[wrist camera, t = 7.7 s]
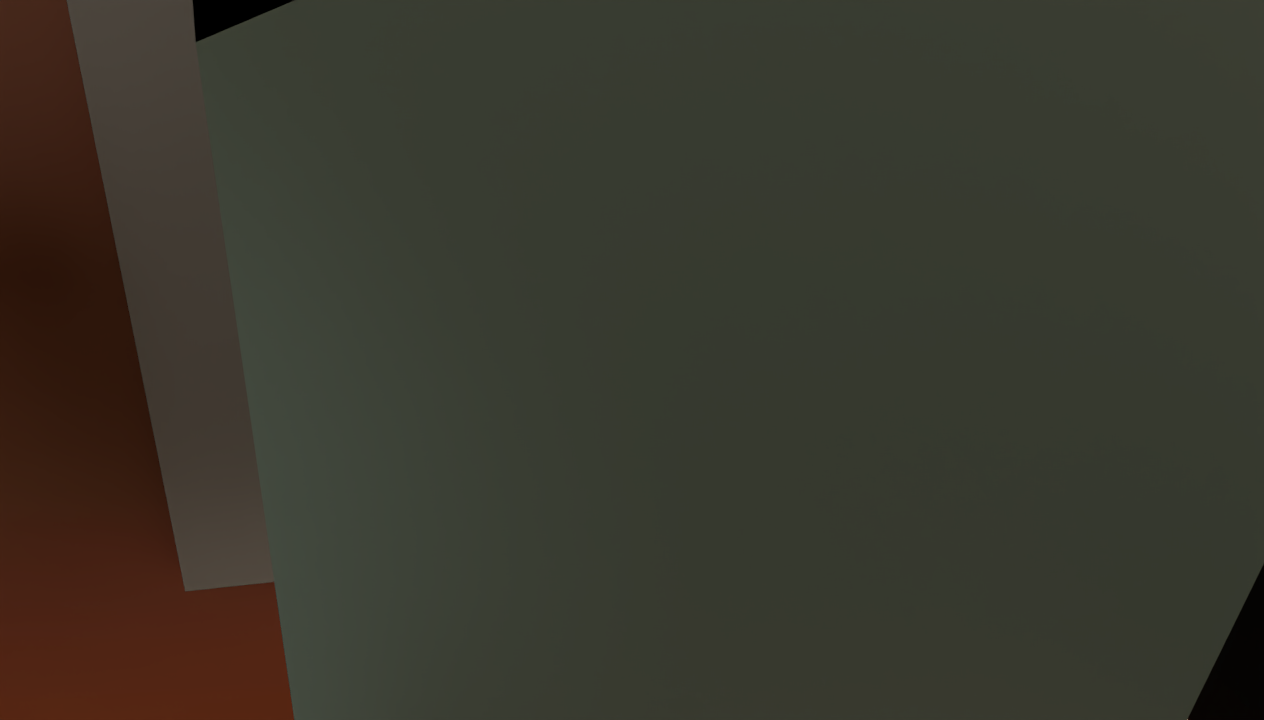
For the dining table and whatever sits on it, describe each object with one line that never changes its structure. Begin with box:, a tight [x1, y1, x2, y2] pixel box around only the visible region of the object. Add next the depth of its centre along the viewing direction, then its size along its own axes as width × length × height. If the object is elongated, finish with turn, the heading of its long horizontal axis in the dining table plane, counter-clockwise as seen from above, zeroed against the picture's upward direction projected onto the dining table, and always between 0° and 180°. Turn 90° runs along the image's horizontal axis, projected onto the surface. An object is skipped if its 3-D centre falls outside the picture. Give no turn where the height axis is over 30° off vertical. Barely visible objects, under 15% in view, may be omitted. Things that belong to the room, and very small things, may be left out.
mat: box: [67, 0, 274, 591], centre depth 13 cm, size 12×8×1 cm, turn 176°
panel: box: [193, 0, 1264, 720], centre depth 9 cm, size 10×3×10 cm, turn 176°
